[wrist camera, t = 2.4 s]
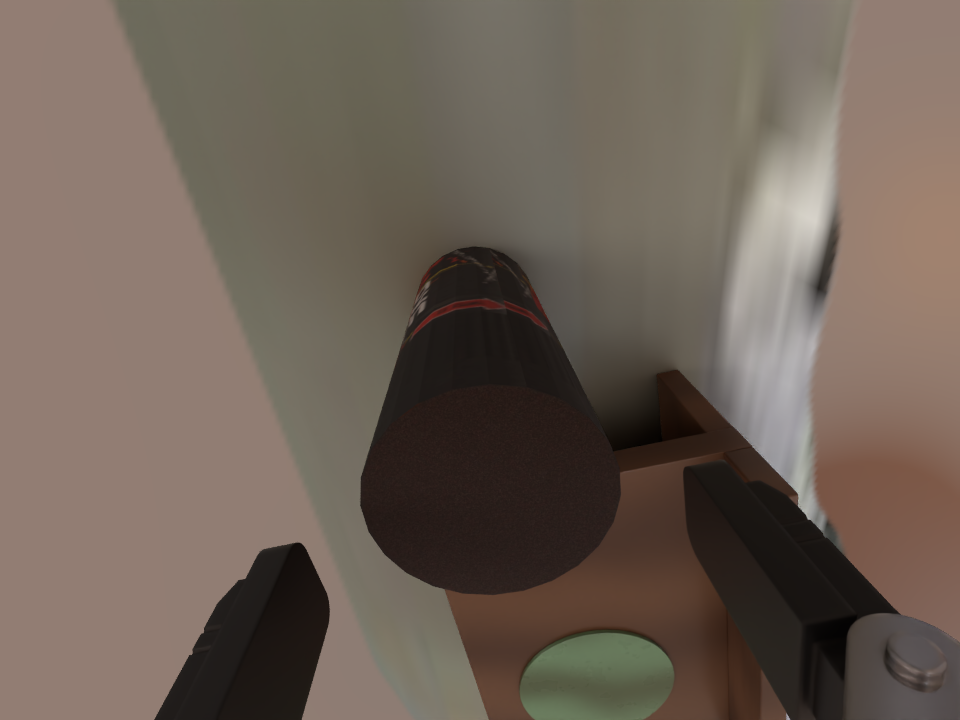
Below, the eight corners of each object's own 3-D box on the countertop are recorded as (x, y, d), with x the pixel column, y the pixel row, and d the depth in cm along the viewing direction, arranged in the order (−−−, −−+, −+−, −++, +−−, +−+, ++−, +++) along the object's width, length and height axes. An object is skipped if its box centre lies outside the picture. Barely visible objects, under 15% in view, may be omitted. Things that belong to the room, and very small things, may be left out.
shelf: (429, 421, 28) (411, 568, 18) (678, 369, 27) (799, 494, 17) (499, 654, 35) (513, 844, 26) (693, 620, 35) (782, 801, 25)
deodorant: (429, 233, 23) (382, 357, 10) (548, 262, 24) (661, 415, 10) (406, 346, 26) (343, 575, 12) (516, 369, 26) (574, 610, 13)
